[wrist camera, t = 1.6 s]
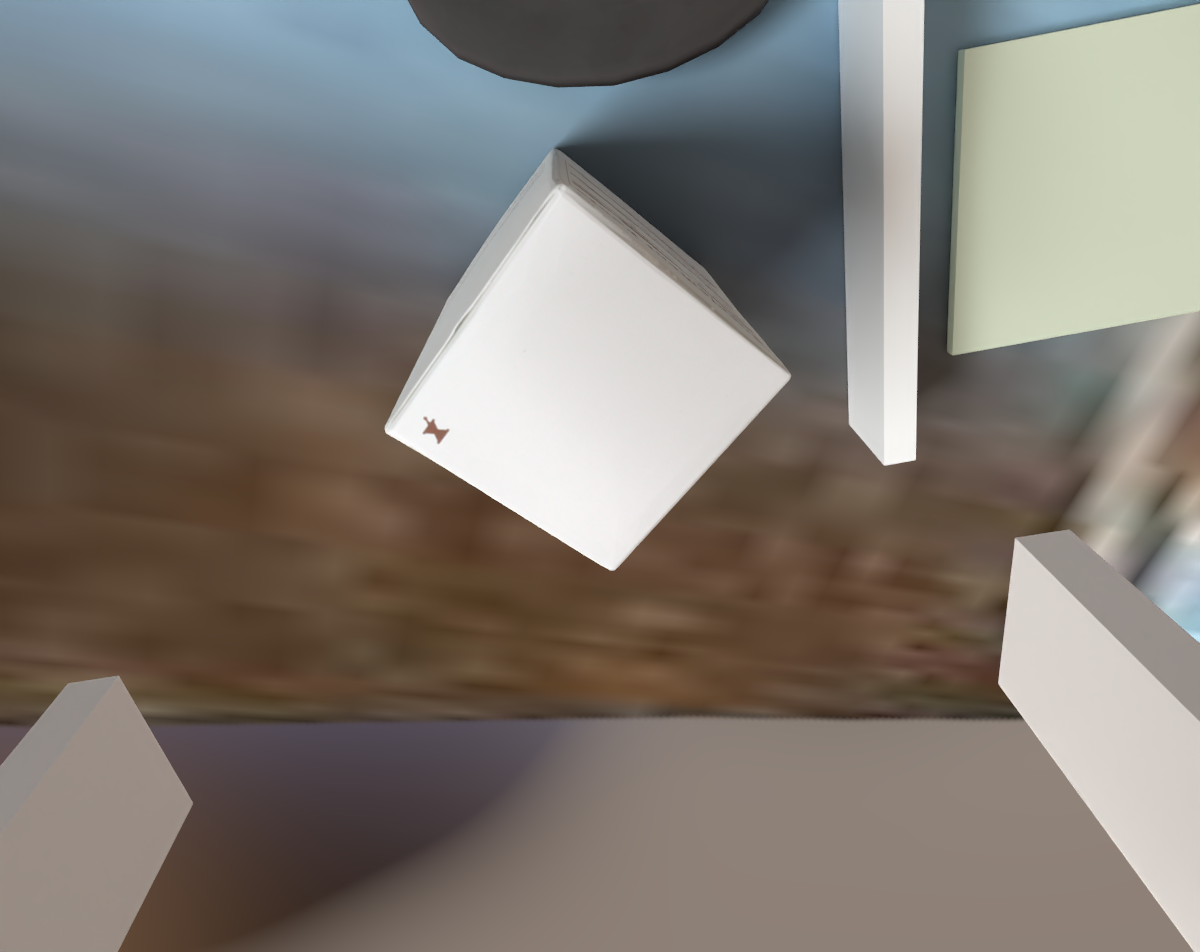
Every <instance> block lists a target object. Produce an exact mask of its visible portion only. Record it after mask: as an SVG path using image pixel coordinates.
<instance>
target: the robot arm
mask: <svg viewBox="0 0 1200 952" xmlns="http://www.w3.org/2000/svg"><path fill="white" fill-rule="evenodd" d="M998 684H999V685H1000V687H1001V688H1002V690H1003V691H1004V692H1005V694H1006V695H1007V696H1008V698H1009V699H1010V701H1011V702H1012V703H1013V705H1014V706H1015V707H1016V709H1017V710H1018V711H1019V713H1020V714H1021V716H1022V717H1023V718H1024V720H1025V721H1026V722H1027V724H1028V725H1029V727H1030V728H1031V729H1032V731H1033V732H1034V733H1035V735H1036V736H1037V737H1038V739H1039V740H1040V742H1041V743H1042V744H1043V746H1044V747H1045V748H1046V750H1047V751H1048V752H1049V754H1050V755H1051V757H1052V758H1053V759H1054V761H1055V762H1056V763H1057V765H1058V766H1059V767H1060V769H1061V770H1062V772H1063V773H1064V774H1065V776H1066V777H1067V778H1068V780H1069V781H1070V783H1071V784H1072V785H1073V787H1074V788H1075V789H1076V791H1077V792H1078V794H1079V795H1080V796H1081V797H1082V799H1083V800H1084V802H1085V803H1086V804H1087V806H1088V807H1089V809H1090V810H1091V811H1092V813H1093V814H1094V815H1095V817H1096V818H1097V819H1098V821H1099V822H1100V824H1101V825H1102V826H1103V828H1104V829H1105V830H1106V832H1107V833H1108V835H1109V836H1110V837H1111V839H1112V840H1113V841H1114V843H1115V844H1116V846H1117V847H1118V848H1119V850H1120V851H1121V852H1122V854H1123V855H1124V856H1125V858H1126V859H1127V860H1128V862H1129V863H1130V865H1131V866H1132V867H1133V869H1134V870H1135V872H1136V873H1137V874H1138V876H1139V877H1140V878H1141V880H1142V881H1143V882H1144V884H1145V885H1146V887H1147V888H1148V889H1149V891H1150V892H1151V893H1152V895H1153V896H1154V898H1155V899H1156V900H1157V902H1158V903H1159V904H1160V906H1161V907H1162V908H1163V910H1164V911H1165V913H1166V914H1167V915H1168V917H1169V918H1170V919H1171V921H1172V922H1173V923H1174V925H1175V926H1176V928H1177V929H1178V930H1179V932H1180V933H1181V934H1182V936H1183V937H1184V939H1185V940H1186V941H1187V943H1188V944H1189V945H1190V947H1191V948H1192V950H1193V951H1194V952H1200V643H1199V642H1197V641H1196V640H1195V639H1194V638H1193V637H1192V636H1191V635H1189V634H1188V633H1187V632H1186V631H1185V630H1184V629H1183V628H1181V627H1180V626H1179V625H1178V624H1177V623H1176V622H1175V621H1173V620H1172V619H1171V618H1170V617H1169V616H1168V615H1167V614H1165V613H1164V612H1163V611H1162V610H1161V609H1160V608H1159V607H1157V606H1156V605H1155V604H1154V603H1153V602H1152V601H1151V600H1149V599H1148V598H1147V597H1146V596H1145V595H1144V594H1143V593H1141V592H1140V591H1139V590H1138V589H1137V588H1136V587H1135V586H1133V585H1132V584H1131V583H1130V582H1129V581H1128V580H1127V579H1125V578H1124V577H1123V576H1122V575H1121V574H1120V573H1119V572H1117V571H1116V570H1115V569H1114V568H1113V567H1112V566H1111V565H1109V564H1108V563H1107V562H1106V561H1105V560H1104V559H1103V558H1101V557H1100V556H1099V555H1098V554H1097V553H1096V552H1095V551H1093V550H1092V549H1091V548H1090V547H1089V546H1088V545H1087V544H1085V543H1084V542H1083V541H1082V540H1081V539H1080V538H1079V537H1077V536H1076V535H1075V534H1074V533H1073V532H1072V531H1071V530H1064V531H1057V532H1051V533H1044V534H1038V535H1031V536H1024V537H1018V538H1015V545H1014V553H1013V562H1012V570H1011V579H1010V587H1009V596H1008V605H1007V613H1006V622H1005V630H1004V639H1003V647H1002V656H1001V664H1000V673H999V681H998ZM192 804H193V802H192V800H191V799H190V797H189V795H188V794H187V792H186V790H185V788H184V787H183V785H182V783H181V782H180V780H179V778H178V777H177V775H176V773H175V771H174V770H173V768H172V766H171V764H170V763H169V761H168V759H167V758H166V756H165V754H164V753H163V751H162V749H161V747H160V746H159V744H158V742H157V741H156V739H155V737H154V735H153V734H152V732H151V730H150V729H149V727H148V725H147V723H146V722H145V720H144V718H143V717H142V715H141V713H140V711H139V710H138V708H137V706H136V705H135V703H134V701H133V699H132V698H131V696H130V694H129V693H128V691H127V689H126V687H125V686H124V684H123V682H122V681H121V679H120V677H119V676H113V677H107V678H100V679H94V680H87V681H81V682H74V683H68V684H67V685H66V687H65V688H64V689H63V690H62V692H61V693H60V694H59V695H58V696H57V698H56V699H55V700H54V701H53V703H52V704H51V705H50V706H49V707H48V709H47V710H46V711H45V712H44V714H43V715H42V716H41V717H40V718H39V720H38V721H37V722H36V723H35V725H34V726H33V727H32V728H31V729H30V731H29V732H28V733H27V734H26V736H25V737H24V738H23V739H22V741H21V742H20V743H19V744H18V745H17V747H16V748H15V749H14V750H13V751H12V753H11V754H10V755H9V756H8V758H7V759H6V760H5V761H4V762H3V764H2V765H1V766H0V952H118V950H119V948H120V946H121V944H122V942H123V940H124V938H125V936H126V934H127V932H128V930H129V928H130V926H131V924H132V922H133V920H134V918H135V916H136V914H137V912H138V910H139V909H140V907H141V905H142V903H143V901H144V899H145V897H146V895H147V893H148V891H149V889H150V887H151V885H152V883H153V881H154V879H155V877H156V875H157V873H158V871H159V869H160V867H161V865H162V863H163V861H164V859H165V857H166V856H167V854H168V852H169V850H170V848H171V846H172V844H173V842H174V840H175V838H176V836H177V834H178V832H179V830H180V828H181V826H182V824H183V822H184V820H185V818H186V816H187V814H188V812H189V810H190V808H191V806H192Z"/></svg>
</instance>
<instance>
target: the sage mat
mask: <svg viewBox="0 0 1200 952" xmlns="http://www.w3.org/2000/svg"><path fill="white" fill-rule="evenodd" d="M1197 311H1200V3H1199V4H1194V5H1189V6H1184V7H1179V8H1173V9H1168V10H1163V11H1158V12H1153V13H1148V14H1143V15H1138V16H1132V17H1127V18H1122V19H1117V20H1112V21H1107V22H1102V23H1097V24H1091V25H1086V26H1081V27H1076V28H1071V29H1066V30H1061V31H1055V32H1050V33H1045V34H1040V35H1035V36H1030V37H1025V38H1020V39H1014V40H1009V41H1004V42H999V43H994V44H989V45H984V46H979V47H973V48H968V49H963V50H958V68H957V95H956V121H955V148H954V174H953V201H952V228H951V254H950V281H949V307H948V334H947V352H948V353H949V354H951V355H958V354H964V353H969V352H975V351H980V350H986V349H991V348H997V347H1003V346H1008V345H1014V344H1019V343H1025V342H1030V341H1036V340H1041V339H1047V338H1053V337H1058V336H1064V335H1069V334H1075V333H1080V332H1086V331H1092V330H1097V329H1103V328H1108V327H1114V326H1119V325H1125V324H1130V323H1136V322H1142V321H1147V320H1153V319H1158V318H1164V317H1169V316H1175V315H1180V314H1186V313H1192V312H1197Z"/></svg>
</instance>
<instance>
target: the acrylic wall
mask: <svg viewBox="0 0 1200 952" xmlns="http://www.w3.org/2000/svg"><path fill="white" fill-rule="evenodd" d="M838 10H839V49H840V88H841V128H842V167H843V207H844V246H845V286H846V325H847V365H848V404H849V425H850V426H851V427H852V428H853V429H854V431H855V432H856V433H857V434H858V435H859V436H860V438H861V439H862V440H863V441H864V442H865V444H866V445H867V446H868V447H869V448H870V449H871V451H872V452H873V453H874V454H875V455H876V456H877V458H878V459H879V460H880V461H881V462H882V464H883V465H890V464H896V463H902V462H907V461H913V460H916V414H917V362H918V310H919V258H920V206H921V155H922V103H923V51H924V0H838Z"/></svg>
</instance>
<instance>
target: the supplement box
mask: <svg viewBox="0 0 1200 952" xmlns="http://www.w3.org/2000/svg"><path fill="white" fill-rule="evenodd" d="M790 378H791V374H790V373H789V371H788V370H787V368H786V367H785V366H784V365H783V363H782V362H781V361H780V360H779V359H778V358H777V356H776V355H775V354H774V353H773V352H772V351H771V349H770V348H769V347H768V346H767V345H766V343H765V342H764V341H763V340H762V338H761V337H760V336H759V335H758V334H757V333H756V331H755V330H754V329H753V328H752V327H751V326H750V324H749V323H748V322H747V321H746V320H745V319H744V318H743V316H742V315H741V314H740V313H739V312H738V310H737V309H736V308H735V307H734V305H733V304H732V303H731V301H730V300H729V299H728V298H727V296H726V295H725V294H724V292H723V291H722V290H721V289H720V288H719V286H718V285H717V284H716V282H715V281H714V280H713V278H712V277H711V276H710V274H709V273H708V272H707V271H706V270H705V269H704V268H703V267H702V266H701V265H700V264H698V263H697V262H696V261H695V260H693V259H692V258H691V257H690V256H689V255H687V254H686V253H685V252H684V251H682V250H681V249H680V248H679V247H678V246H676V245H675V244H674V243H673V242H672V241H670V240H669V239H668V238H667V237H666V236H664V235H663V234H662V233H661V232H660V231H658V230H657V229H656V228H655V227H654V226H652V225H651V224H650V223H649V222H648V221H646V220H645V219H644V218H643V217H641V216H640V215H639V214H638V213H637V212H635V211H634V210H633V209H632V208H631V207H629V206H628V205H627V204H626V203H625V202H623V201H622V200H621V199H620V198H619V197H617V196H616V195H615V194H613V193H612V192H611V191H610V190H609V189H607V188H606V187H605V186H604V185H603V184H601V183H600V182H599V181H597V180H596V179H595V178H594V177H592V176H591V175H590V174H589V173H587V172H586V171H585V170H584V169H583V168H581V167H580V166H579V165H578V164H576V163H575V162H574V161H573V160H571V159H570V158H569V157H568V156H566V155H565V154H564V153H563V152H561V151H560V150H558V149H556V148H553V149H552V150H551V151H550V152H549V153H548V155H547V156H546V157H545V159H544V160H543V162H542V163H541V164H540V166H539V167H538V168H537V170H536V171H535V172H534V174H533V175H532V176H531V178H530V179H529V181H528V182H527V183H526V185H525V186H524V187H523V189H522V190H521V191H520V193H519V194H518V196H517V197H516V198H515V200H514V201H513V202H512V204H511V205H510V207H509V208H508V209H507V211H506V212H505V214H504V215H503V216H502V218H501V219H500V221H499V222H498V224H497V225H496V226H495V228H494V229H493V231H492V232H491V234H490V235H489V237H488V238H487V240H486V241H485V243H484V244H483V246H482V247H481V249H480V250H479V252H478V253H477V255H476V256H475V258H474V259H473V261H472V262H471V264H470V265H469V267H468V269H467V270H466V272H465V273H464V275H463V276H462V278H461V280H460V281H459V283H458V284H457V286H456V287H455V289H454V290H453V292H452V294H451V295H450V296H449V298H448V299H447V301H446V304H445V306H444V308H443V310H442V312H441V314H440V316H439V318H438V320H437V323H436V325H435V327H434V329H433V331H432V333H431V335H430V336H429V338H428V340H427V343H426V345H425V347H424V349H423V351H422V353H421V355H420V357H419V359H418V361H417V363H416V365H415V367H414V369H413V371H412V373H411V375H410V377H409V379H408V381H407V383H406V385H405V387H404V389H403V391H402V393H401V395H400V397H399V399H398V401H397V403H396V405H395V407H394V409H393V411H392V413H391V416H390V418H389V419H388V421H387V423H386V425H385V432H386V433H387V434H389V435H390V436H392V437H394V438H395V439H397V440H399V441H401V442H402V443H404V444H406V445H407V446H409V447H411V448H412V449H414V450H416V451H417V452H419V453H421V454H422V455H424V456H426V457H427V458H429V459H431V460H432V461H434V462H436V463H437V464H439V465H441V466H442V467H444V468H446V469H447V470H449V471H450V472H452V473H454V474H455V475H457V476H458V477H460V478H462V479H463V480H465V481H466V482H468V483H470V484H471V485H473V486H475V487H476V488H478V489H479V490H481V491H482V492H484V493H486V494H487V495H489V496H490V497H492V498H493V499H495V500H497V501H498V502H500V503H502V504H503V505H505V506H506V507H508V508H510V509H511V510H513V511H514V512H516V513H518V514H519V515H521V516H522V517H524V518H526V519H527V520H529V521H530V522H532V523H534V524H535V525H537V526H538V527H540V528H542V529H543V530H545V531H547V532H548V533H550V534H551V535H553V536H555V537H556V538H558V539H559V540H561V541H563V542H564V543H566V544H567V545H569V546H570V547H572V548H574V549H576V550H577V551H579V552H580V553H581V554H583V555H585V556H587V557H588V558H590V559H591V560H593V561H595V562H596V563H598V564H600V565H602V566H603V567H605V568H607V569H609V570H615V569H616V568H617V567H618V566H619V565H620V564H621V563H622V562H623V561H624V560H625V559H626V558H627V557H628V556H629V555H630V553H631V552H632V551H633V550H634V549H635V548H636V547H637V546H638V545H639V544H640V542H641V541H642V540H643V539H644V538H645V537H646V536H647V535H648V534H649V533H650V532H651V531H652V530H653V528H654V527H655V526H656V525H657V524H658V523H659V522H660V521H661V520H662V519H663V518H664V516H665V515H666V514H667V513H668V512H669V511H670V510H671V509H672V508H673V507H674V506H675V504H676V503H677V502H678V501H679V500H680V499H681V498H682V497H683V496H684V495H685V494H686V492H687V491H688V490H689V489H690V488H691V487H692V486H693V485H694V484H695V483H696V481H697V480H698V479H699V478H700V477H701V476H702V475H703V474H704V473H705V472H706V471H707V469H708V468H709V467H710V466H711V465H712V464H713V463H714V462H715V461H716V460H717V459H718V457H719V456H720V455H721V454H722V453H723V452H724V451H725V450H726V449H727V448H728V446H729V445H730V444H731V443H732V442H733V441H734V440H735V439H736V438H737V437H738V435H739V434H740V433H741V432H742V431H743V430H744V429H745V428H746V427H747V426H748V424H749V423H750V422H751V421H752V420H753V419H754V418H755V417H756V416H757V415H758V414H759V412H760V411H761V410H762V409H763V408H764V407H765V406H766V405H767V404H768V403H769V401H770V400H771V399H772V398H773V397H774V396H775V395H776V394H777V393H778V392H779V390H780V389H781V388H782V387H783V386H784V385H785V384H786V383H787V382H788V381H789V380H790Z"/></svg>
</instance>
